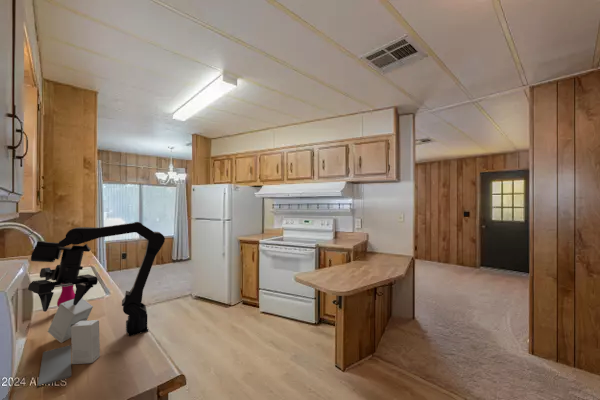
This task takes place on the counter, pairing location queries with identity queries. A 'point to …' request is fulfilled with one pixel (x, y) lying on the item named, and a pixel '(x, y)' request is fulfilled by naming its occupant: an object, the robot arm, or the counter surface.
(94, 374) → the counter surface
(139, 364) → the counter surface
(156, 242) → the robot arm
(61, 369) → the rubber mat
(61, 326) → the supplement box
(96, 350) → the skincare box
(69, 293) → the pepper mill
